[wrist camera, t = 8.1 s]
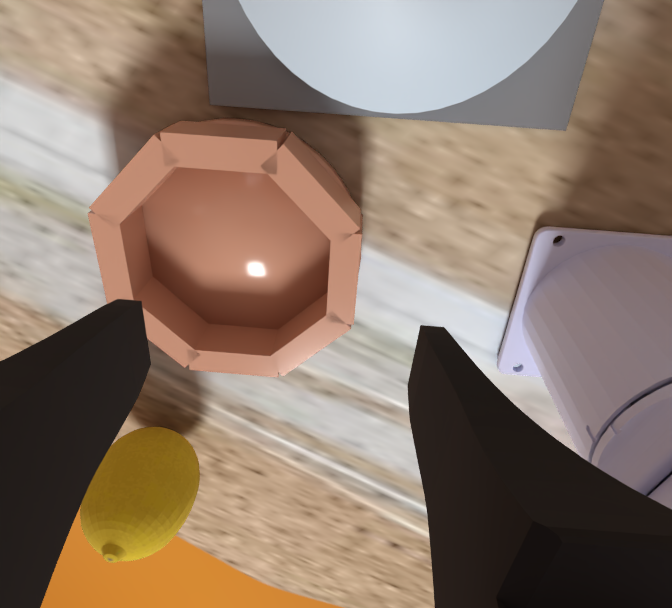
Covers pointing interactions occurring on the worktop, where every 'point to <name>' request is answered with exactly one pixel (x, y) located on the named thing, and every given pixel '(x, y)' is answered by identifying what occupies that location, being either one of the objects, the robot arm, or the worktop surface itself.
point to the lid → (404, 46)
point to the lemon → (140, 494)
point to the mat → (485, 108)
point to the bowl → (231, 246)
